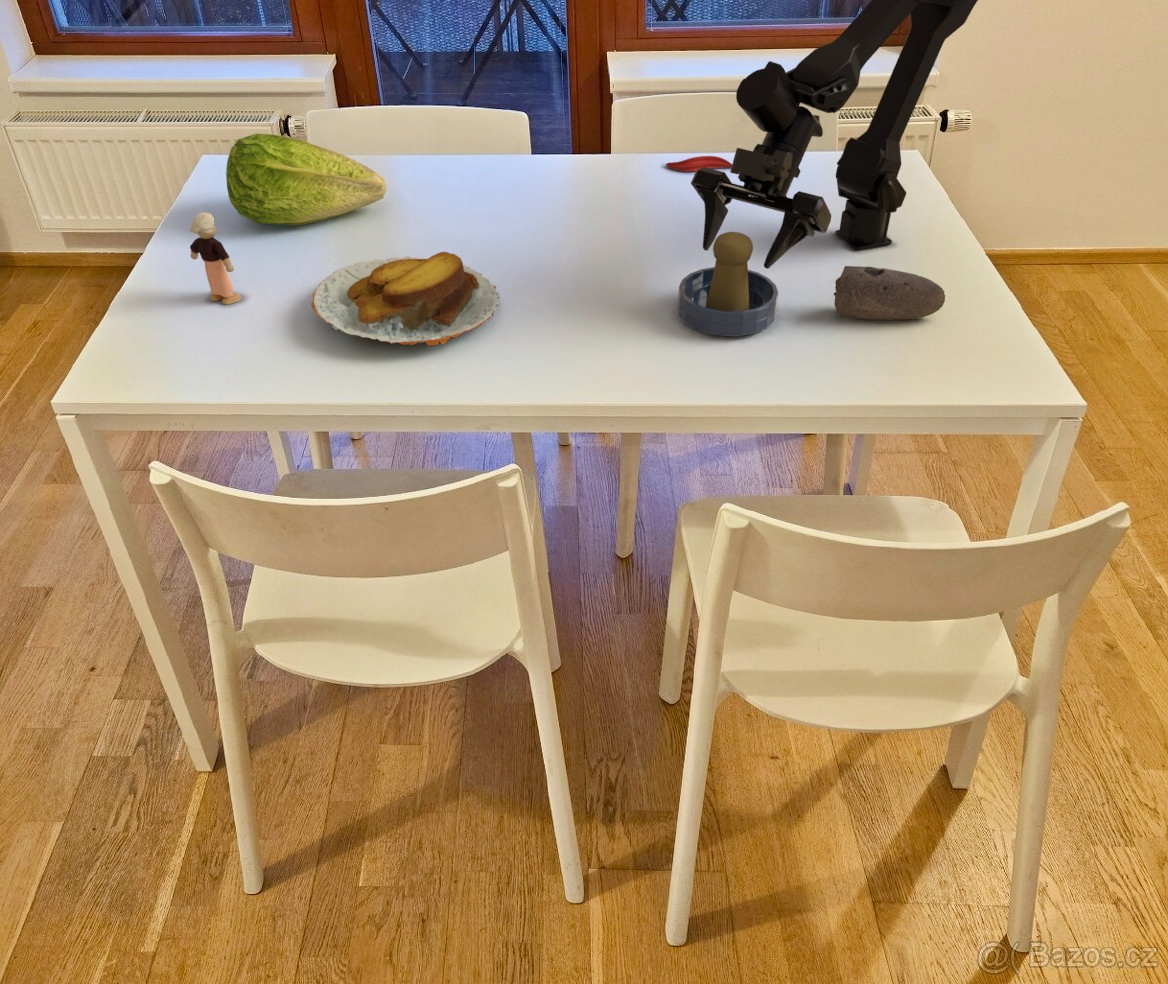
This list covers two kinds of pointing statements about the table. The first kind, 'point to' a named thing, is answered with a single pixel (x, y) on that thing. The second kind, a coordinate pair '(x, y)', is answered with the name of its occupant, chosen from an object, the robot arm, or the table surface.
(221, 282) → the grandmother figurine
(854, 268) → the perforated stone tool
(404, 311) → the food on plate
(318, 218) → the lettuce
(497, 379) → the table surface
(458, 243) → the table surface
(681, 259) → the table surface
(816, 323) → the table surface
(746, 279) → the yellow pawn piece
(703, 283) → the bowl
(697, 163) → the cayenne pepper
